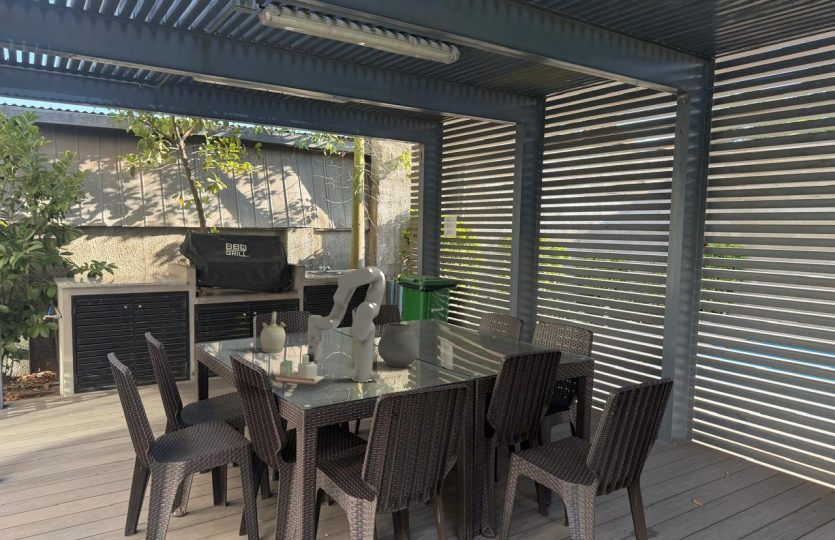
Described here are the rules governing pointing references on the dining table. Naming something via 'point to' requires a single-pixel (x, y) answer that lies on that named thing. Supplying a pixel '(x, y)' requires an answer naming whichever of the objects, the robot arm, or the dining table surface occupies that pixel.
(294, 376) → the cream flat block
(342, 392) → the dining table surface
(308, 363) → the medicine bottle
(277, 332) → the jug
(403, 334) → the ceramic pot
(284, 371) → the tea box
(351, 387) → the dining table surface
